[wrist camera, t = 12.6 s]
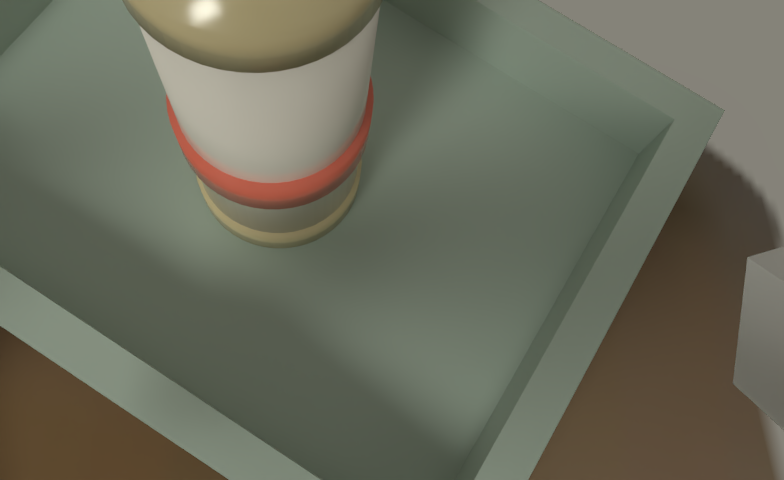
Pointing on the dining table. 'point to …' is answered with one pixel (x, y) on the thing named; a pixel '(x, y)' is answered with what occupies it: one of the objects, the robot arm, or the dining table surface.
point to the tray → (343, 242)
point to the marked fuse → (268, 106)
